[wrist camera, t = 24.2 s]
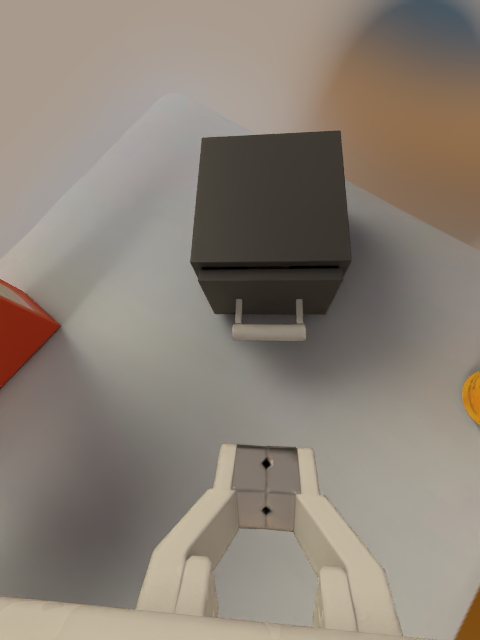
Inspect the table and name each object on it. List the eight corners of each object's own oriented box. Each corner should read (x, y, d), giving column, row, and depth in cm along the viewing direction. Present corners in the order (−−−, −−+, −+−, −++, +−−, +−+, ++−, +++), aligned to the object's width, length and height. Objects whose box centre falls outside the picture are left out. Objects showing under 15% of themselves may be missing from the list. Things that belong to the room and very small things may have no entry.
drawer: (327, 351, 34) (346, 327, 25) (212, 349, 35) (194, 326, 26) (320, 215, 39) (333, 158, 31) (220, 218, 40) (207, 164, 32)
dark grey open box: (328, 306, 36) (351, 260, 26) (211, 306, 38) (190, 262, 27) (322, 203, 41) (340, 130, 30) (218, 206, 42) (201, 137, 32)
